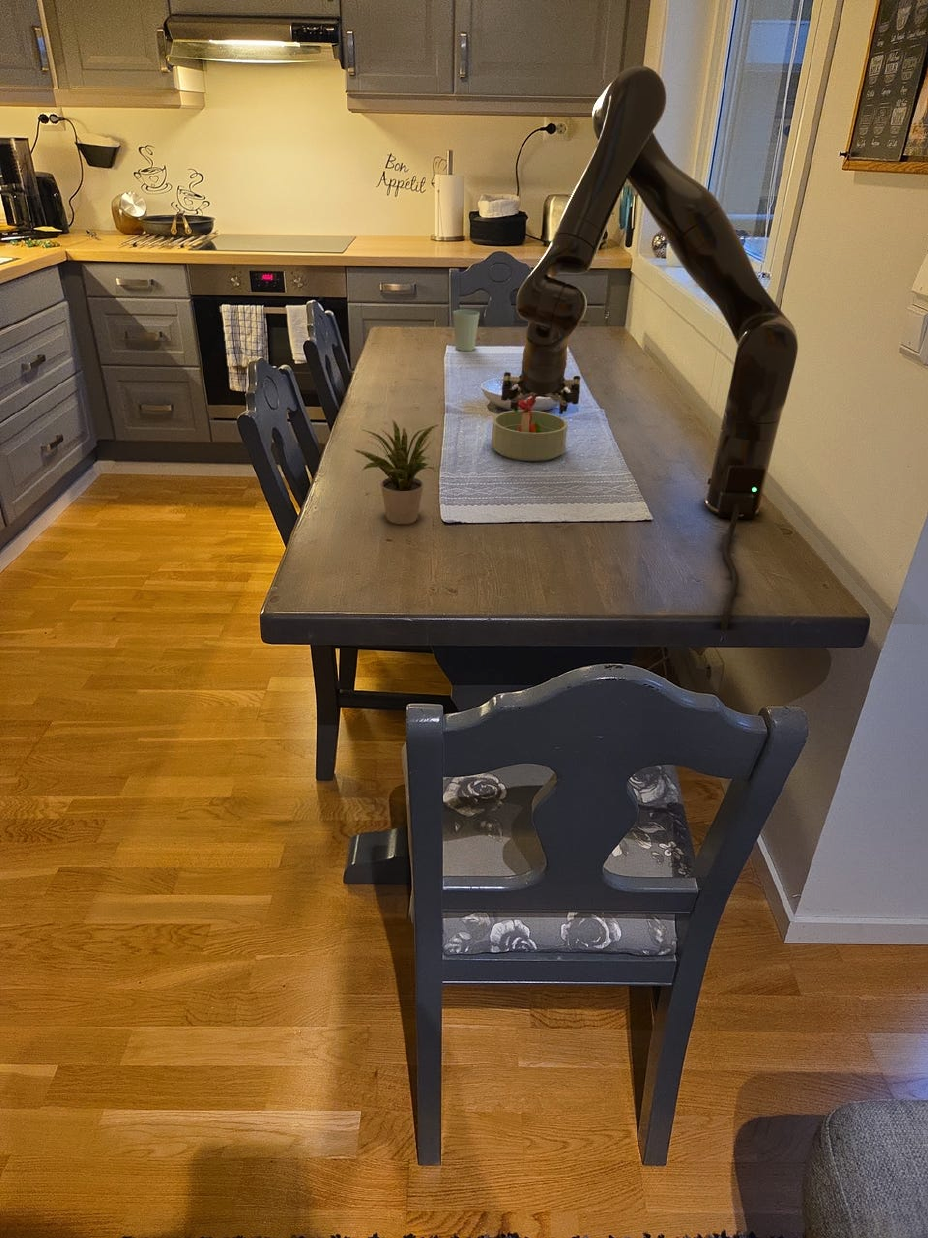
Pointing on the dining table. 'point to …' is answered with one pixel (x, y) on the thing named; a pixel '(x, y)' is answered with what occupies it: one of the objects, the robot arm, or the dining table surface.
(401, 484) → the house plant
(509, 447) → the bowl
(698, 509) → the dining table surface
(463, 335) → the cup
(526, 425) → the bird rattle
